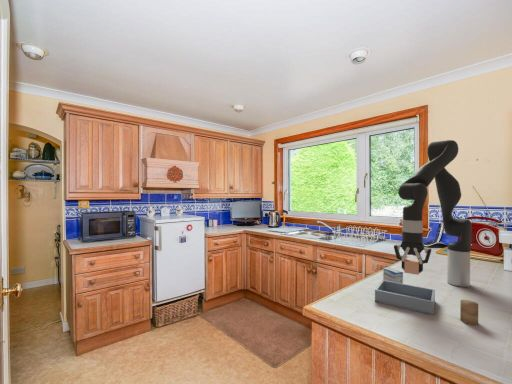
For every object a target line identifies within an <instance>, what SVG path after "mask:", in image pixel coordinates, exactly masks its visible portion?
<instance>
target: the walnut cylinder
mask: <svg viewBox="0 0 512 384" xmlns="http://www.w3.org/2000/svg"><path fill="white" fill-rule="evenodd" d="M459 314H460V319H459V320H460V322H462V323H464V324H466V325H469V326H478V325H479V303H478V302H476V301H474V300H470V299H460V312H459Z"/></svg>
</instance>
